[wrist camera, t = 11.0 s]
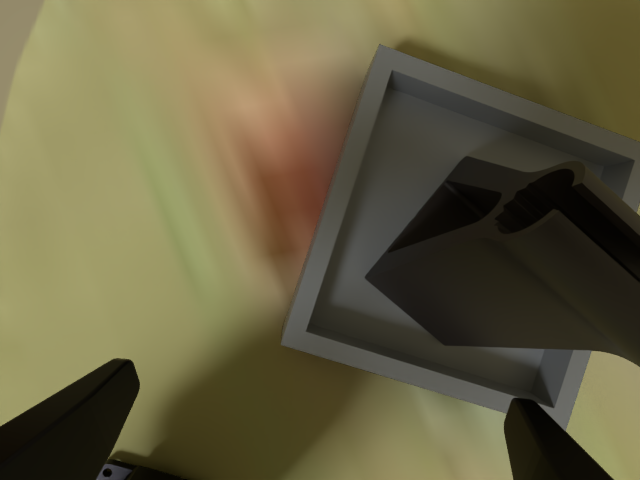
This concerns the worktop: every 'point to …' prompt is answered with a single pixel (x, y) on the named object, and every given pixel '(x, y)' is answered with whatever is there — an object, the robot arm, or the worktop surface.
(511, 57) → the worktop surface
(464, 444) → the worktop surface
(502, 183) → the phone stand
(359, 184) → the tray
